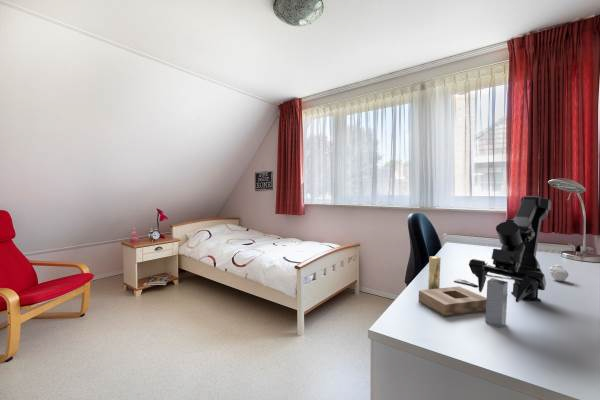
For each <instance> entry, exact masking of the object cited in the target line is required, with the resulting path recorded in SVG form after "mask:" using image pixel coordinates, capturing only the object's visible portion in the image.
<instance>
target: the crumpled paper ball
mask: <svg viewBox="0 0 600 400" xmlns="http://www.w3.org/2000/svg"><path fill="white" fill-rule="evenodd" d="M548 271H549V273H550V275H551V277H552V279H554V280H555V281H558V282H564V281H566V280H567V278H569V276H570V274H569V272H568V271H567V269H566V268H564V267H563V266H562V265H560V264H552V266H549V269H548Z"/></svg>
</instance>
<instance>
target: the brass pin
mask: <svg viewBox="0 0 600 400" xmlns="http://www.w3.org/2000/svg"><path fill="white" fill-rule="evenodd" d="M428 258H429V260H428V262H429V263H428V284H427V285H428V286H427V287H428V289H438V288H440V282H441V281H440V280H441V257H440V256H433V255H432V256H431V255H430V256H428ZM428 289H427V290H428Z"/></svg>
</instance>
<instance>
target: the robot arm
mask: <svg viewBox="0 0 600 400" xmlns="http://www.w3.org/2000/svg"><path fill="white" fill-rule="evenodd" d="M551 210H552V201H551V200H550V199H549V198H547V197H541V196H538V195H524V196H522V197H521V198H520V204H519V207H518V209H517V212H516V213H515V216H514V218H511V219H508V218H507V219H506V220H505V221H503V222H500V223H498V225H496V226H495V230H496V234H497V237H498V240H499V243H500V244H501V247H500V248H493V249H492V253H491V260H492V265H491V266H494V267H491V266H486V261H485V260H480V259H477V258H476V259H475V258H472V259H470V260H469V263H468V266H469V269H470V271H471V273H472V275H475V277H477V282H478V291H479V293H482V291H483V290H484V287H485V283H486V281H487V277H486V276H487V274H488V273H491V274H493V275H500V276H503V277H505V278H506V277H507V278H510V280H514V282H513V284H512V285H513V286H512V291H510V294H512V295H514V296H515V303H520V301H535V302H536V301H538V302H542V299H541V298H539V297H538V296H539V291H546V287H547V281H546V276H545V273H543V271H542V269H541V265H540V263H539V261H538V260H537V257H536V256H537V250H538V245H539V244H538V243H539V239H540V238H539V237H540V231H541V225H542V221H543V220H544V219H546V218H547V217H548V216H549V211H551ZM487 272H488V273H487Z"/></svg>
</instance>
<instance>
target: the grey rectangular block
mask: <svg viewBox="0 0 600 400" xmlns="http://www.w3.org/2000/svg"><path fill="white" fill-rule="evenodd" d="M486 281H487V282H486V283H487V284H486V298H487V299H486V312H485V321H484V323H485V324H487V325H490V326H493V327H495V328H498V329H500V330H501V329H503V328H505V326H506V325H507V305H508V288H509V287H508V284H509V282H508V281H505V280H501V279H497V278H489V279H488V280H486Z"/></svg>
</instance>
